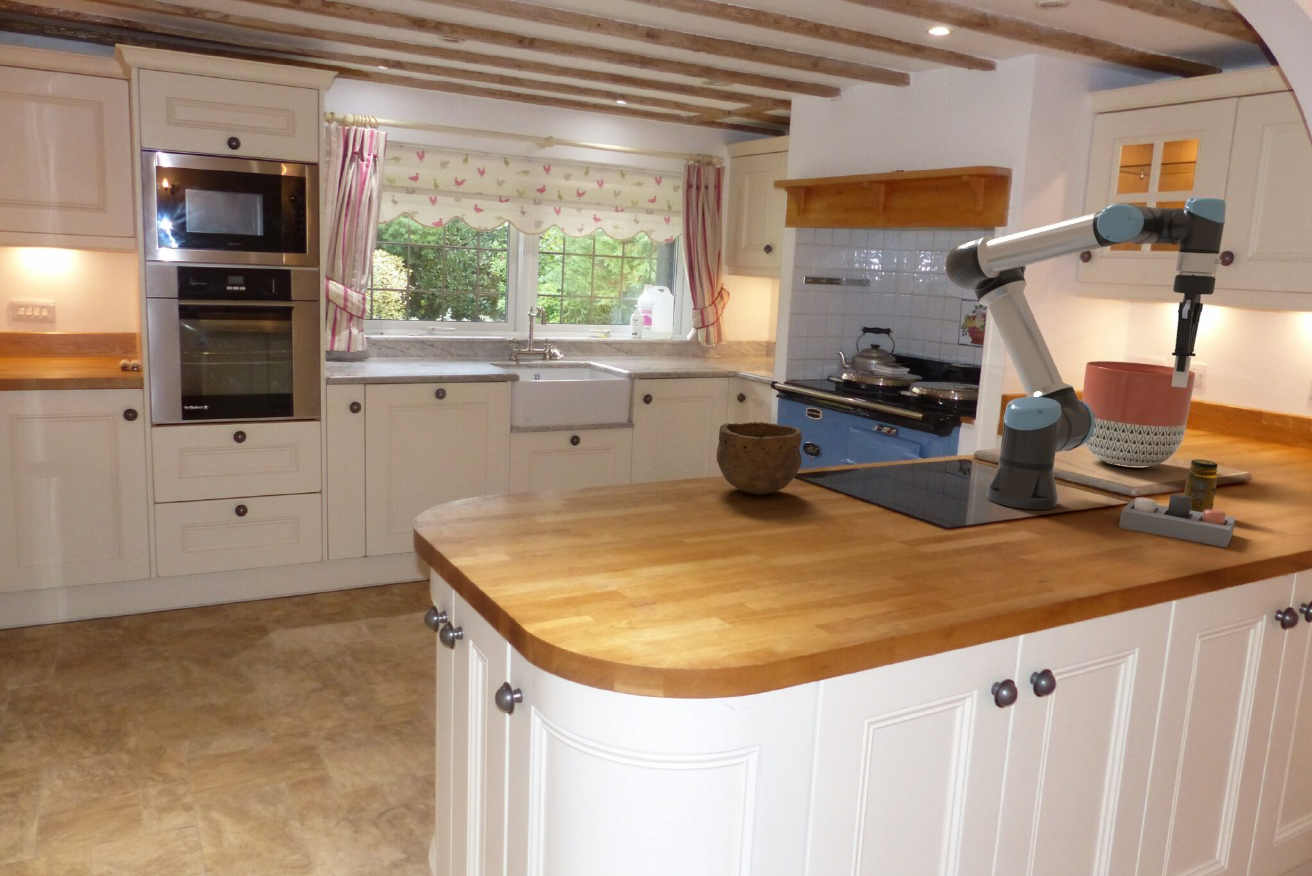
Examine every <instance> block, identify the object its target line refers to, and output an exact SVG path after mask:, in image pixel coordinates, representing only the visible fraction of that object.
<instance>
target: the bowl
mask: <svg viewBox="0 0 1312 876" xmlns="http://www.w3.org/2000/svg"><path fill="white" fill-rule="evenodd" d="M802 437H803V436H802V430H801V428H798V427H793V426H790V425H782V424H781V425H779V424H776V423H771V422H770V423H769V422H763V421H760V422H758V421H754V422H752V421H749V422H744V423H738V422H735V423H729V422H728V423H727V422H726V423H723V424H721V425H720V427H719V434H718V444H717V449H716V462H717V464H718V467H719V470H720V472H721V474H722V475H723V477H724V479H725V480H726V482H728V483H729V484H730V485H731V486H733V487H734V488H736V489H738V490H739V491H742V492H745V493H747V494H753V495H756V496H757V495H759V496H760V495H762V496H763V495H768V494H772V493H776V492H778V491H780V490H783V489H784V488H786V487H787V486H788V485H790V483H791V482H792V481H793V479H794V478H795V476H796V475H797V474H798V472H799V470H800V468H801V465H802V463H803V462H802V454H801V450H800V447H801V444H802Z"/></svg>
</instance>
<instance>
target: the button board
mask: <svg viewBox="0 0 1312 876" xmlns="http://www.w3.org/2000/svg"><path fill="white" fill-rule="evenodd" d="M1134 505H1135V499H1134V500H1131V501H1129V502H1128V503H1127V504H1126V506H1124V508H1123V509H1122V510H1121V513H1120V517H1119V518H1120V520H1119V525H1118V526H1119V527H1118V528H1121V529H1125V530H1131V531H1138V532H1140V533H1141V532H1142V533H1149V534H1153V535H1159V536H1163V537H1168V538H1173V537H1174V539H1179V540H1185V541H1190V542H1195V543H1200V542H1201V543H1202V544H1207V545H1211V546H1216V547H1222V548H1228V546H1229V544H1230V541H1231V539H1232V537H1233V534H1234V528H1235V524H1236V523H1235V522H1236V517H1232V516H1227V515H1225V521H1224V525H1220V524H1214V523H1209V522H1203V521H1202V518H1203V512H1197V511H1191V510H1190V513H1189V517H1187V518H1182V517H1175V516H1171V515H1169V514H1168V508H1169V505H1168V506H1167V505H1161V504H1157V503H1156V506H1155V513H1152V512H1147V511H1141V510H1135V509H1134Z"/></svg>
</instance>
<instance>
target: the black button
mask: <svg viewBox="0 0 1312 876" xmlns="http://www.w3.org/2000/svg"><path fill="white" fill-rule="evenodd" d="M1191 501H1192V497H1190V496H1186V495H1184V494H1180V493H1174V494H1173V493H1171V494H1170V495H1169V503H1168V507H1169V508H1168V514H1169V515H1171V516H1175V517H1182V518H1187V517H1189V513H1190V507H1191Z"/></svg>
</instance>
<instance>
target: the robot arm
mask: <svg viewBox="0 0 1312 876" xmlns="http://www.w3.org/2000/svg"><path fill="white" fill-rule="evenodd" d="M1226 210H1227V204H1226V202H1225V200H1223V199H1221V198H1212V197H1210V198H1209V197H1207V198H1206V197H1195V198H1194V197H1192V198H1187V200H1186V201H1185V205H1184V207H1180V208H1179V207H1178V208H1171V207H1168V208H1165V207H1152V206H1151V207H1150V206H1143V205H1142V206H1141V205H1136V204H1131V203H1126V202H1124V203H1123V202H1122V203H1116V204H1115V203H1114V204H1111V205H1108V206H1106V207H1105V208H1104V209H1103V210H1100V211H1096V212H1093V213H1089V214H1084V215H1080V216H1077V217H1073V218H1069V219H1064V220H1061V221H1058V222H1057V221H1056V222H1053V223H1049V224H1047V225H1041V226H1037V227H1035V228H1030V229H1027V230H1023V231H1020V232H1019V231H1018V232H1015V233H1011V234H1007V235H1003V236H1000V237H996V238H993V237H991V236H989V235H986V236H982V237H978V238H974V239H967V240H963V241H960V242H958V243H957V244H955V245H954V246H952V248H951V249H950V250H949V252H948V254H947V256H946V258H945V272H946V273H945V274H946V275H947V277H948V279H949V281H951V283H953V284H954V285H955V286H957V287H958V288H961V289H964V290H965V289H966V290H973V291H974V294H975V296H976V298H977V300H978V303H979V305H982V306H984V307H987V308H988V310H989V312H990V314H991V317H992V319H993V320H994V321H993V322H994V323H995V325H996V328H997V329H998V333H999V335H1000V337H1001V340H1002V342H1003V344H1004V347H1005V349H1006V351H1007V353H1008V355H1009V358H1010V360H1011V363H1012V365H1013V367H1014V369H1015V372H1016V374H1017V376H1018V379H1019V381H1020V383H1021V386H1022V387H1023V390H1024V392H1025V395H1026V396H1025V397H1024V396H1023V397H1018V398H1014V399H1012V400H1010V401H1009V402H1008V403H1007V404H1006V407H1005V412H1004V415H1003V419H1002V420H1003V424H1002V425H1003V426H1002V435H1001V441H1000V442H1001V444H1000V452H999V459H998V461H999V462H998V466H997V468H996V470H995V472H994V474H993V477H992V478H991V480H990V483H989V485H988V487H987V493H986V498H987V499H988V500H989V501H991V502H994V503H995V504H999V505H1002V506H1006V507H1009V508H1010V507H1011V508H1017V509H1023V510H1034V511H1036V510H1038V511H1039V510H1040V511H1041V510H1051V509H1055V508H1057V506H1058V499H1059V496H1058V495H1059V494H1058V489H1057V486H1056V480H1055V476H1054V466H1055V460H1056V459H1055V457H1056V453H1058V452H1069V451H1072V450H1075V449H1077V448H1080V447H1081V446H1083V445H1085V443H1086V442H1087V441H1088V440H1089V439H1090V438H1091V436H1092V434H1093V432H1094V429H1095V416H1094V413H1093V411H1092V409H1091V408H1090V406H1089V405H1088V404H1086V403H1085V402H1083V401H1082V399H1079V398H1078V395H1077V393H1076V391H1075V388H1074V387H1073V385H1071V384H1067V383H1065V382H1064V381H1063V379H1062V377H1061V374H1060V372H1059V370H1058V368H1057V366H1056V363H1055V360H1054V359H1053V356H1052V353H1051V351H1050V349H1049V347H1048V345H1047V342H1046V341H1045V338H1044V336H1043V334H1042V331H1041V329H1040V327H1039V325H1038V322H1037V321H1036V319H1035V316H1034V313H1033V311H1032V309H1031V306H1030V305H1029V302H1028V300H1027V298H1026V296H1025V293H1024V290H1025V289H1026V286H1027V284H1028V283H1027V281H1026V279H1025V272H1026V269H1027V267H1026V266H1028V265H1034V264H1038V263H1041V262H1042V263H1043V262H1047V261H1051V260H1055V259H1059V258H1063V257H1066V256H1067V257H1068V256H1071V255H1077V254H1081V253H1083V252H1088V251H1089V252H1090V251H1092V250H1097V249H1101V248H1105V247H1110V246H1111V247H1112V246H1116V245H1119V244H1124V243H1130V244H1136V245H1145V244H1147V245H1179V247H1178V254H1177V260H1176V264H1175V265H1176V266H1175V272H1177V273H1178V274H1176V275H1175V276H1174V282H1173V289H1172V291H1173V292H1174V293H1178V294H1184V295H1183V299H1182V301H1180V302H1179V304H1178V311H1177V313H1178V315H1177V316H1178V317H1177V327H1176V328H1177V329H1176V335H1175V336H1176V337H1175V338H1176V339H1175V346H1174V347H1175V348H1174V352H1172V353H1171V356H1175V361H1174V365H1173V367H1174V372H1173V378H1172V385H1171V386H1173V387H1182V388H1186V387H1187V381H1188V375H1189V371H1190V369H1191V368H1190V367H1191V362H1192V357H1196V353H1195V352H1194V351H1195V343H1196V339H1197V335H1198V329H1199V323H1200V318H1201V315H1202V312H1203V308H1204V303H1203V302H1202V301H1201V299H1202V298H1201V295H1207V296H1208V295H1213V294H1214V291H1215V286H1216V277H1215V276H1213V275H1215V274H1217V269H1218V265H1220V264H1222V259H1220V257H1219V255H1220V252H1221V246H1222V245H1221V244H1222V240H1223V234H1224V227H1225V224H1226Z"/></svg>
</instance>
